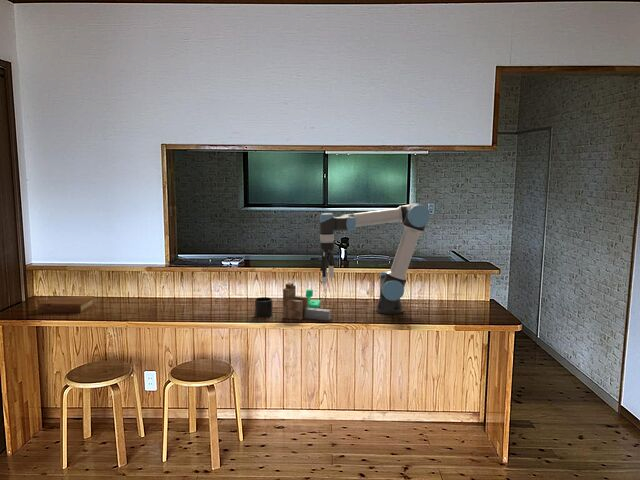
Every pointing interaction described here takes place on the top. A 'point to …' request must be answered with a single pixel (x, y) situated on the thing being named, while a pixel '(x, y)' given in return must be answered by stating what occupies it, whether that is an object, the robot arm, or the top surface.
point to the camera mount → (312, 302)
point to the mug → (263, 307)
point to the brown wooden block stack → (293, 303)
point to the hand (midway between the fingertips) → (328, 280)
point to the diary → (66, 304)
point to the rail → (316, 313)
